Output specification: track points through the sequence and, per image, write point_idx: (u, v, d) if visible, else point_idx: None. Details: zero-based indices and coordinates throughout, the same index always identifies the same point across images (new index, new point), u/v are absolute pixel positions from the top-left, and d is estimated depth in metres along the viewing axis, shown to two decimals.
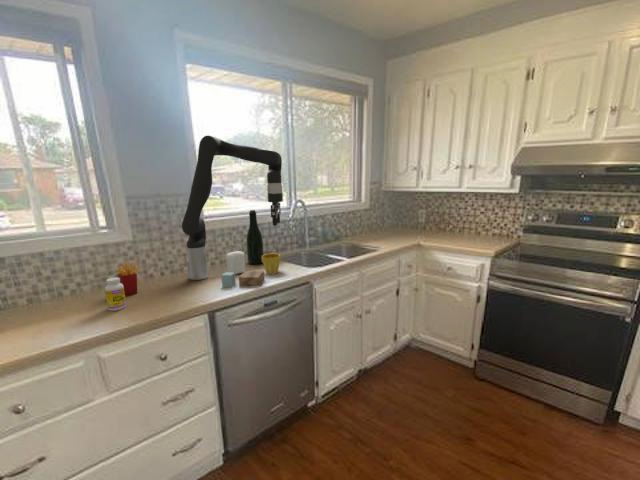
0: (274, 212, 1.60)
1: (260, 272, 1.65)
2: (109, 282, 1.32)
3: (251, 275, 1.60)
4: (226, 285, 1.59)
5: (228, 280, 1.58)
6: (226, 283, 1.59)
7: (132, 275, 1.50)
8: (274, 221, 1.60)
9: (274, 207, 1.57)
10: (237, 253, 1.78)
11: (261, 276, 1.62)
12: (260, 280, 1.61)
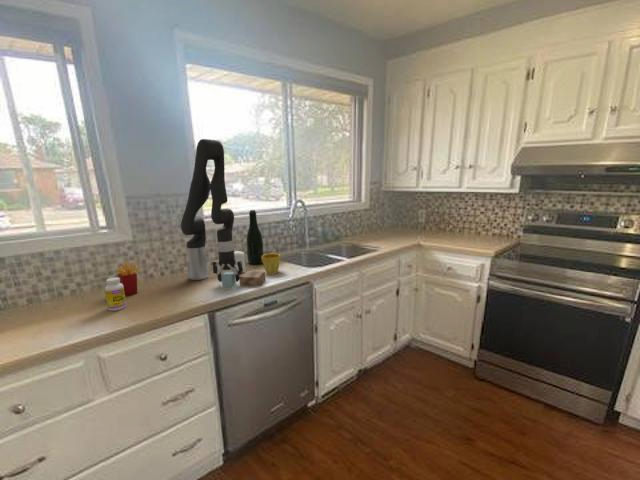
0: (235, 268, 1.59)
1: (261, 272, 1.65)
2: (109, 282, 1.32)
3: (251, 276, 1.60)
4: (226, 285, 1.59)
5: (228, 280, 1.58)
6: (226, 283, 1.59)
7: (132, 275, 1.50)
8: None
9: (241, 262, 1.59)
10: (237, 253, 1.78)
11: (262, 276, 1.62)
12: (261, 280, 1.61)
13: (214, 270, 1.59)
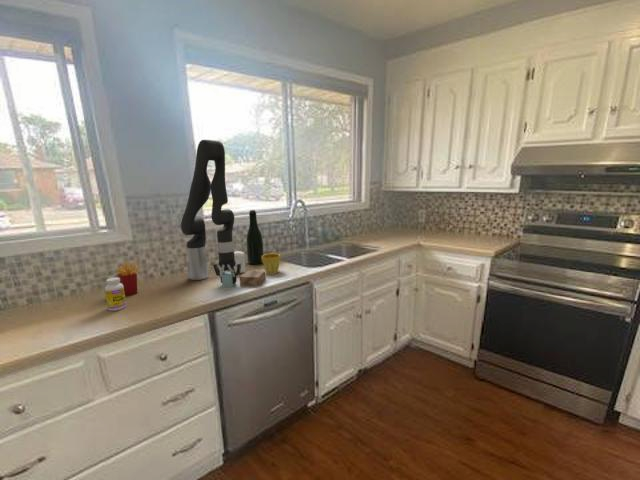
0: (233, 270, 1.60)
1: (261, 272, 1.65)
2: (109, 282, 1.32)
3: (252, 275, 1.60)
4: (226, 285, 1.59)
5: (228, 280, 1.58)
6: (226, 283, 1.59)
7: (132, 275, 1.50)
8: None
9: (240, 265, 1.60)
10: (237, 253, 1.78)
11: (262, 276, 1.62)
12: (261, 280, 1.61)
13: (217, 272, 1.60)
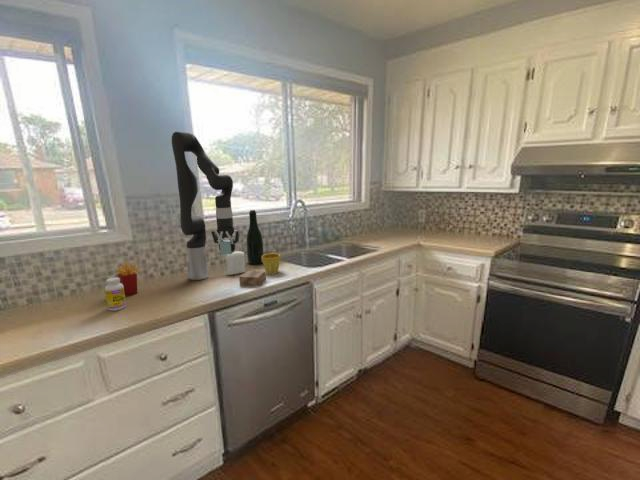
0: (232, 238, 1.57)
1: (261, 272, 1.65)
2: (109, 282, 1.32)
3: (251, 275, 1.60)
4: (224, 252, 1.56)
5: (227, 248, 1.55)
6: (224, 250, 1.56)
7: (132, 275, 1.50)
8: None
9: (239, 233, 1.57)
10: (237, 253, 1.78)
11: (262, 276, 1.62)
12: (260, 280, 1.60)
13: (215, 240, 1.56)
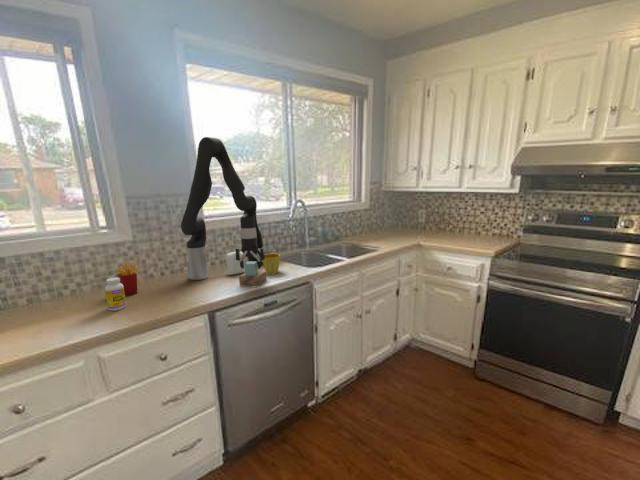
0: (257, 255, 1.60)
1: (262, 272, 1.65)
2: (109, 282, 1.32)
3: None
4: (249, 274, 1.60)
5: (251, 269, 1.59)
6: (249, 272, 1.60)
7: (132, 275, 1.50)
8: None
9: (263, 249, 1.60)
10: None
11: (262, 276, 1.62)
12: (260, 280, 1.60)
13: (237, 257, 1.60)
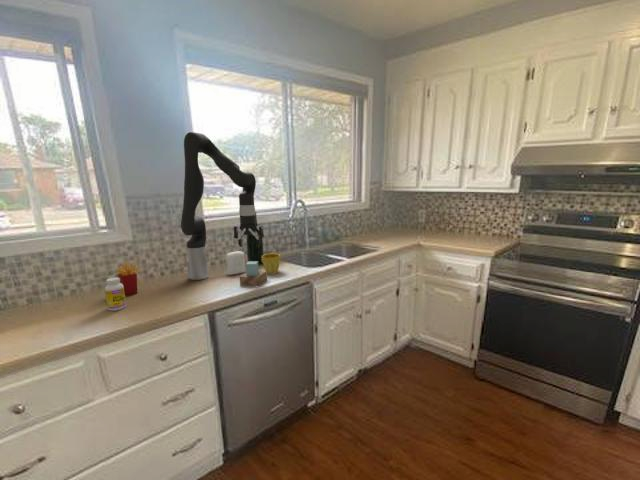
0: (256, 233, 1.58)
1: (262, 272, 1.65)
2: (109, 282, 1.32)
3: None
4: (250, 274, 1.60)
5: (252, 269, 1.60)
6: (250, 272, 1.60)
7: (132, 275, 1.50)
8: None
9: (262, 228, 1.58)
10: (237, 253, 1.78)
11: (262, 276, 1.62)
12: (260, 280, 1.60)
13: (235, 235, 1.58)
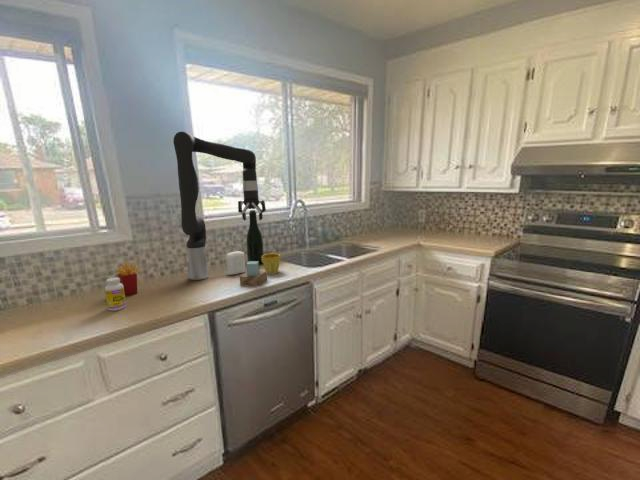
0: (259, 207, 1.71)
1: (262, 272, 1.65)
2: (109, 282, 1.32)
3: None
4: (251, 274, 1.60)
5: (253, 269, 1.60)
6: (251, 271, 1.60)
7: (132, 275, 1.50)
8: (261, 216, 1.72)
9: (264, 202, 1.71)
10: (237, 253, 1.78)
11: (262, 276, 1.62)
12: (260, 280, 1.60)
13: (239, 209, 1.71)
